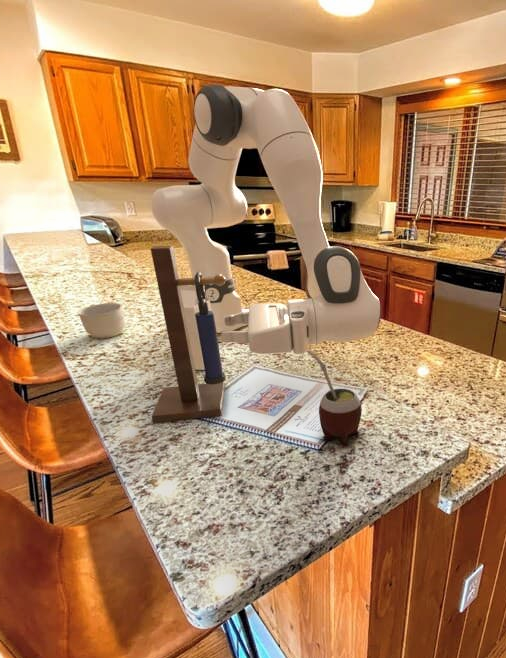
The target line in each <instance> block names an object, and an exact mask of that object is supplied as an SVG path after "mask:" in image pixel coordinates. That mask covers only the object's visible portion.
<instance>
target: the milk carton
mask: <svg viewBox="0 0 506 658" xmlns="http://www.w3.org/2000/svg"><path fill="white" fill-rule="evenodd" d="M180 289H181V294H182V300H183V305H184V311H185V316H186V322H187V327H188V333H189V338H190V344H191V349H192V355H193V360H194V366H195V371H196V370H197V371H205V369H204V363H203V357H202V351H201V346H200V340H199V334H198V329H197V323H196V317H195V313H197V312H199V307H198V298H197V294H196V286H193V285H184V286H180ZM205 300H206V302H207V304H208V310H209V311H211V304H210V299H209V298H208V297H206V296H205Z"/></svg>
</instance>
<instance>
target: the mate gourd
mask: <svg viewBox="0 0 506 658" xmlns="http://www.w3.org/2000/svg"><path fill="white" fill-rule="evenodd" d="M306 352H307V353H308V354H309V355H310V356H311V357H312V358H313V359H314V360H316V362H317V363H318V364H319V367H320V369H321V371H322V372H323V375H324V378H325V380H326V382H327V385H328V388H329V390H327V392H325V393H324V395H322V397H321V400H320V402H319V407H318V415H319V416H318V417H319V422H320V428H321V431H322V433H323V435H322V440H323V441H324V442H325V441H326V442H327V441H333V440H339V441H340V443H341V446H342V447H343V448H345V447H346V448H347V447H348V446H349V443H348V438H349V437H357V436H360V435H359V434H360V431H359V430H358V429H359V427H360V423H361V419H362V415H363V414H362V413H363V409H362V407H363V406H362V403H361V400H360V398H359V397H358V395H357V393H355V392H354V391H353V390H351V389H346V388H334V387H333V384H332V381H331V380H330V376H329V374H328V371H327V366H326V365H325V363H323V361H322V360H321V359H320V357H318V356H317V355H316V354H315V353H313V352H312V351H311V350H310V349H307V350H306Z"/></svg>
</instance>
